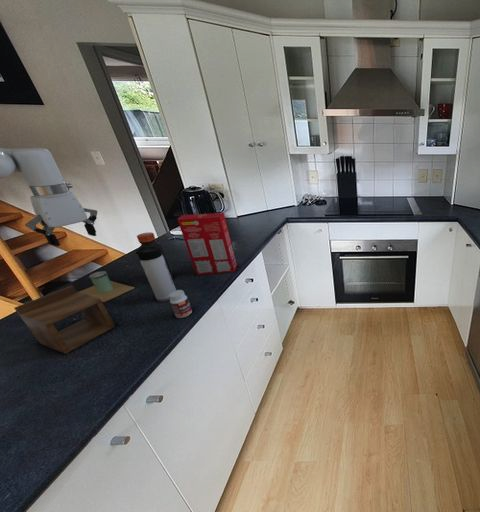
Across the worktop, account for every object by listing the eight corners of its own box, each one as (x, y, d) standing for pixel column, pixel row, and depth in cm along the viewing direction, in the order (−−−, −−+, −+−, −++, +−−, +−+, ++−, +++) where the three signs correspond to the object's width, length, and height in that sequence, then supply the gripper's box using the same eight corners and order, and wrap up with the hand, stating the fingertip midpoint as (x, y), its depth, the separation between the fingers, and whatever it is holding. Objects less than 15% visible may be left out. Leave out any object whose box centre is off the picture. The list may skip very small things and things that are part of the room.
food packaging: (237, 266, 122) (223, 212, 111) (234, 272, 118) (220, 216, 107) (200, 269, 119) (182, 214, 108) (196, 275, 115) (177, 219, 103)
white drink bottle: (154, 278, 112) (136, 233, 103) (174, 274, 115) (158, 230, 106) (151, 286, 107) (131, 239, 98) (172, 282, 110) (154, 236, 101)
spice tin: (94, 292, 102) (85, 276, 99) (109, 286, 106) (101, 270, 103) (102, 294, 101) (94, 278, 97) (117, 288, 104) (109, 272, 101)
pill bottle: (184, 319, 90) (176, 298, 86) (172, 317, 90) (163, 296, 87) (195, 310, 94) (188, 290, 90) (183, 308, 95) (175, 288, 91)
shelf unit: (40, 343, 79) (13, 307, 73) (91, 318, 89) (71, 285, 83) (65, 354, 76) (40, 317, 70) (115, 326, 86) (97, 292, 80)
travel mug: (151, 300, 98) (129, 251, 90) (168, 290, 104) (149, 243, 95) (165, 303, 97) (144, 253, 88) (181, 293, 103) (163, 245, 94)
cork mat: (76, 294, 101) (75, 293, 101) (107, 280, 110) (107, 280, 110) (104, 302, 97) (103, 301, 97) (135, 288, 105) (134, 287, 105)
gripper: (77, 184, 94) (98, 230, 101) (1, 194, 79) (32, 248, 87) (92, 186, 92) (112, 233, 99) (16, 197, 77) (47, 251, 85)
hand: (75, 240), depth 93 cm, fingers open, 9 cm apart
